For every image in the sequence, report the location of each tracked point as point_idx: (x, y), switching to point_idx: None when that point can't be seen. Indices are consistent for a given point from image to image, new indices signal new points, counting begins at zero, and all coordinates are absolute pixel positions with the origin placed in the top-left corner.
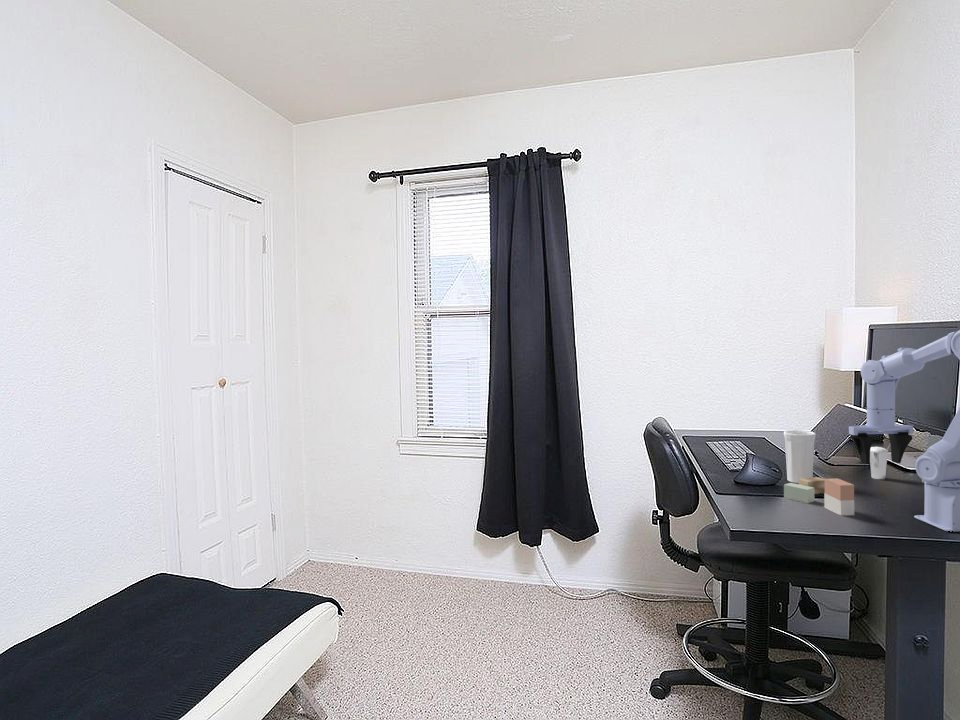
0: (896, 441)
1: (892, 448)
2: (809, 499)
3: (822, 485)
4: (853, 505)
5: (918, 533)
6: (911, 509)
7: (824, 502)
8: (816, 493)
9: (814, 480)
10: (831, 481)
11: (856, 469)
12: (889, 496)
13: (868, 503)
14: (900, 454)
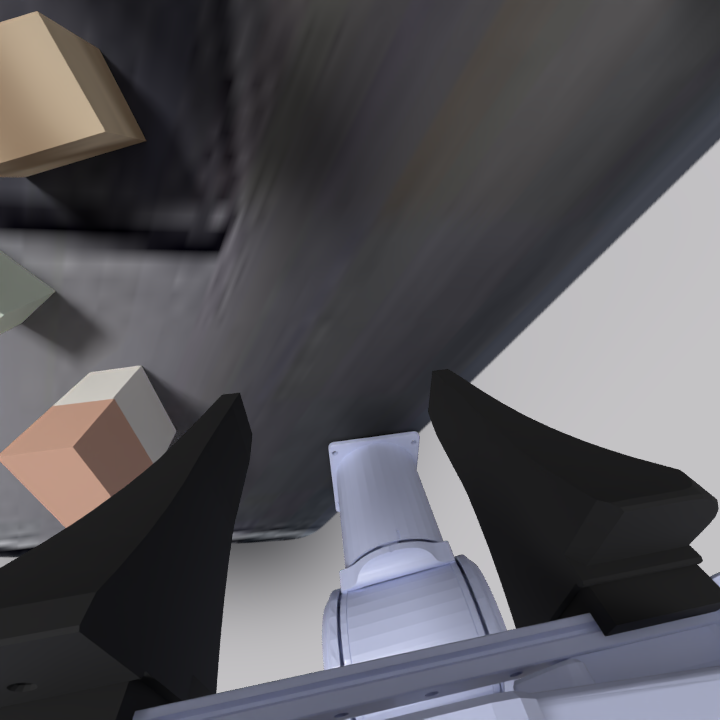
0: (509, 527)
1: (481, 428)
2: (18, 321)
3: (88, 146)
4: (162, 454)
5: (276, 516)
6: (374, 376)
7: (77, 384)
8: (76, 161)
9: (5, 137)
10: (32, 492)
11: None
12: (410, 226)
13: (274, 321)
14: (456, 464)
